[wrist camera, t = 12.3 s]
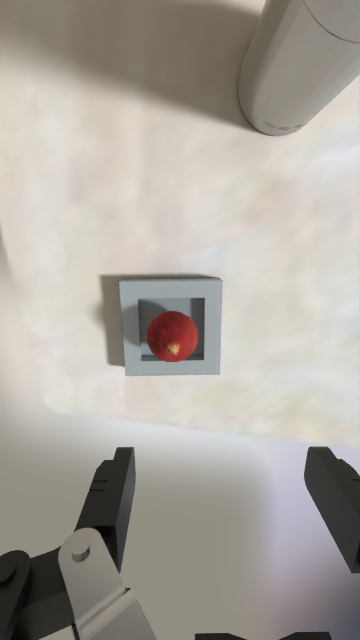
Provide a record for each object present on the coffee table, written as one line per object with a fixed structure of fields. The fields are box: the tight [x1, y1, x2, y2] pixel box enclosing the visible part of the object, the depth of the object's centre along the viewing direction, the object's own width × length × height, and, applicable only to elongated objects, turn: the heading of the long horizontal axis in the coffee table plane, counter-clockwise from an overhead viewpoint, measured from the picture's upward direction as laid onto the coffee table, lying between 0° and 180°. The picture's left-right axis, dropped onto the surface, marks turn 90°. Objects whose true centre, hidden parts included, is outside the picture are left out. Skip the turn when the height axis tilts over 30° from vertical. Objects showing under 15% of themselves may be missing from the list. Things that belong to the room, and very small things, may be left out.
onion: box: [147, 311, 198, 362], centre depth 31 cm, size 6×6×8 cm
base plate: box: [119, 278, 222, 376], centre depth 34 cm, size 12×12×2 cm
